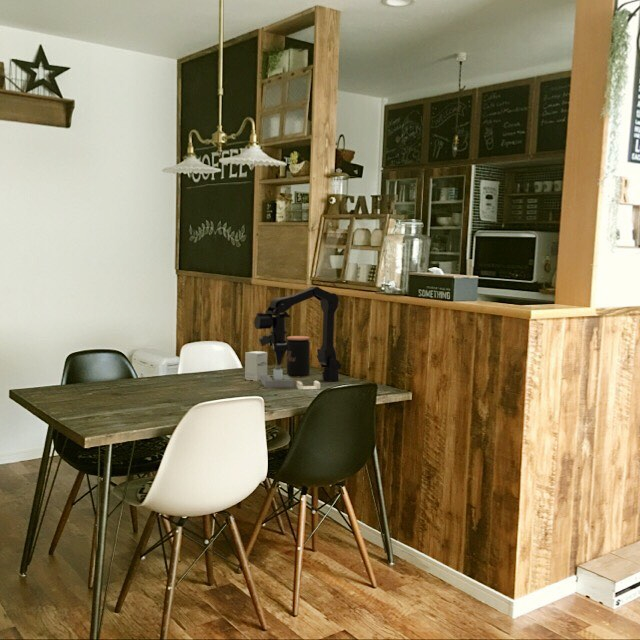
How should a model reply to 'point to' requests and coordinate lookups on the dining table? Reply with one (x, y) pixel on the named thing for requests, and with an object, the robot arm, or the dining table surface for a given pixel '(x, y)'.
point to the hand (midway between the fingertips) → (278, 364)
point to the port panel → (276, 381)
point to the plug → (277, 373)
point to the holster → (300, 386)
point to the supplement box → (255, 365)
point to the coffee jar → (298, 356)
